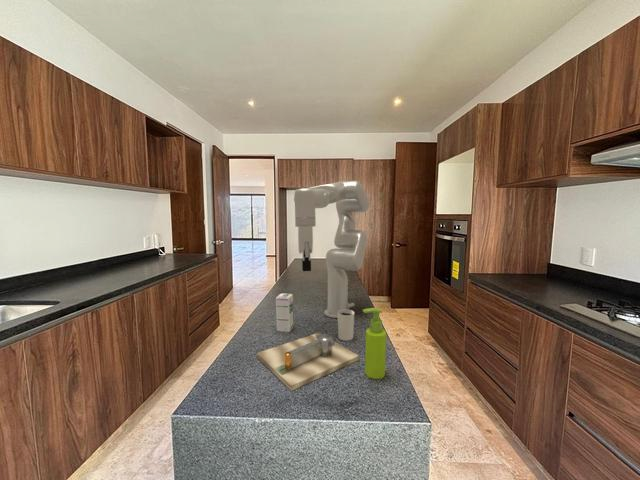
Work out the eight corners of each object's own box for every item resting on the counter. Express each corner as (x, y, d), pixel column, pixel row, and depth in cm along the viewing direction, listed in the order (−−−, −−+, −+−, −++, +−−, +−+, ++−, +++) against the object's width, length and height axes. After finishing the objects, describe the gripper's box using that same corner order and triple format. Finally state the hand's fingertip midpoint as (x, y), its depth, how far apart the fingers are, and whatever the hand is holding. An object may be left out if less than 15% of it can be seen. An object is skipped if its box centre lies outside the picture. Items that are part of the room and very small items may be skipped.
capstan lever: (322, 345, 95) (322, 331, 95) (338, 354, 89) (338, 339, 89) (277, 365, 83) (277, 348, 83) (293, 376, 77) (293, 359, 77)
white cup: (335, 339, 104) (335, 314, 103) (339, 332, 110) (340, 308, 109) (352, 342, 102) (352, 316, 101) (355, 334, 108) (356, 310, 107)
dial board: (318, 336, 107) (318, 332, 107) (358, 360, 89) (359, 355, 89) (257, 357, 91) (256, 352, 91) (291, 391, 74) (291, 385, 74)
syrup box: (289, 332, 110) (289, 297, 109) (276, 331, 111) (275, 296, 110) (294, 326, 116) (293, 293, 114) (280, 325, 117) (280, 292, 116)
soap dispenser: (359, 368, 85) (360, 306, 83) (381, 367, 85) (382, 305, 83) (364, 379, 79) (365, 313, 77) (387, 378, 79) (389, 312, 77)
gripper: (295, 221, 108) (296, 266, 110) (295, 224, 93) (297, 276, 95) (313, 220, 108) (314, 265, 111) (317, 223, 94) (318, 275, 96)
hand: (306, 270), depth 103 cm, fingers closed
